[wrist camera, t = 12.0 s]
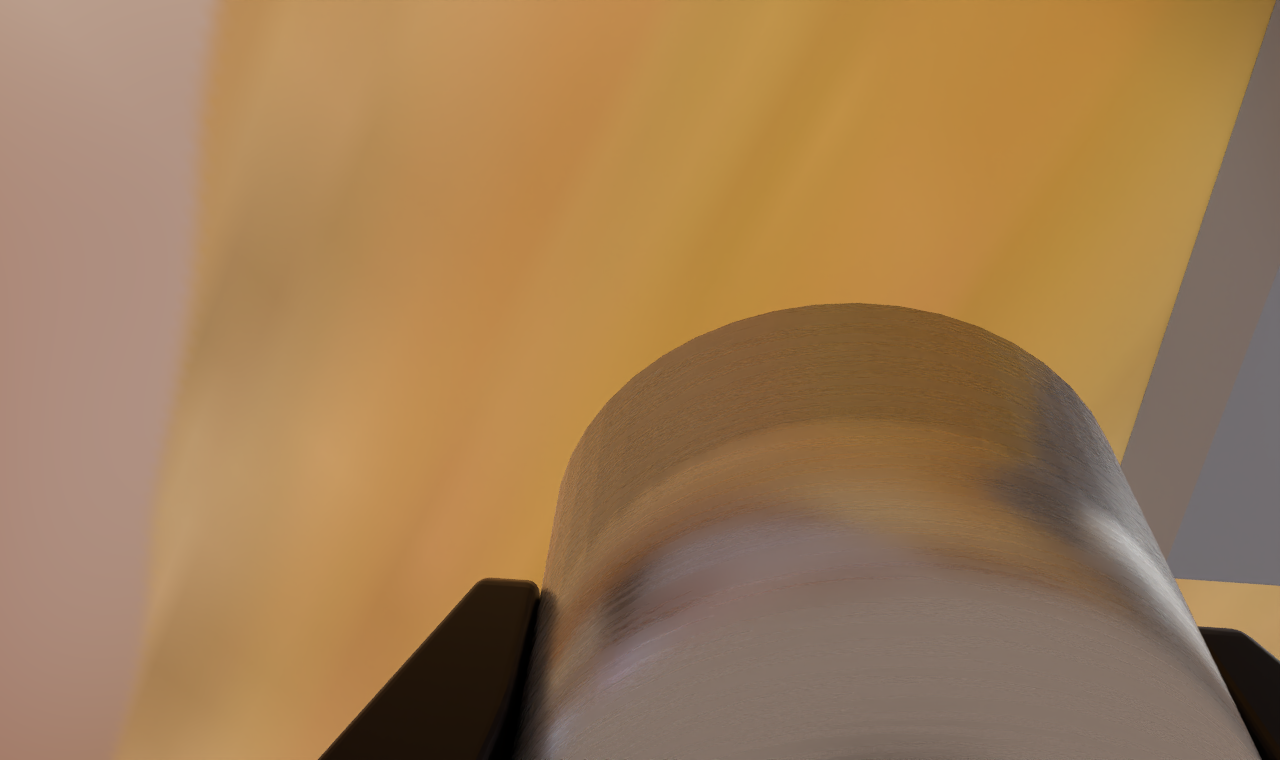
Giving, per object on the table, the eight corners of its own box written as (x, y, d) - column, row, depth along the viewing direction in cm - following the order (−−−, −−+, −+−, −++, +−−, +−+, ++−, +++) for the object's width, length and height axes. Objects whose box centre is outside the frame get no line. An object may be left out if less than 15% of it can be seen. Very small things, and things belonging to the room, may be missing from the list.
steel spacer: (851, 803, 11) (911, 1329, 8) (449, 576, 10) (306, 1085, 6) (1248, 517, 9) (1573, 1059, 6) (806, 182, 8) (877, 623, 4)
